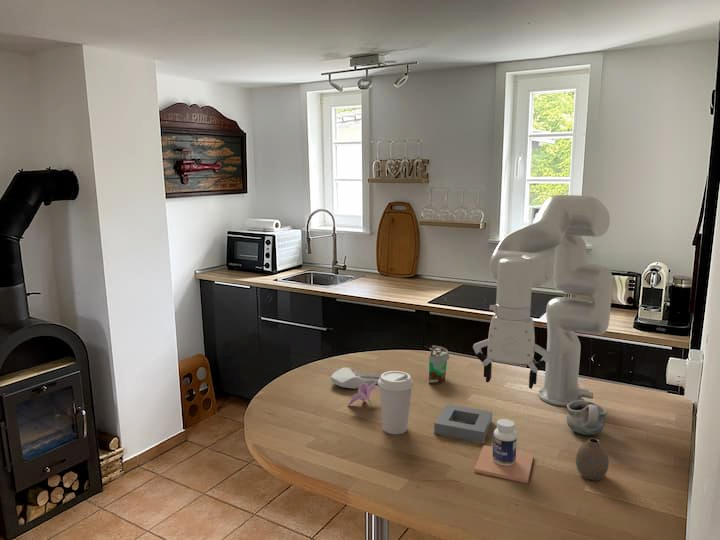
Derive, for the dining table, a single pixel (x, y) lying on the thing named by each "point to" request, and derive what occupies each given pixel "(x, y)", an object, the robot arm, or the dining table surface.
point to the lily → (364, 392)
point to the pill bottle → (504, 443)
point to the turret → (353, 378)
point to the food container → (437, 364)
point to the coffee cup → (395, 400)
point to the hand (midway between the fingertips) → (509, 383)
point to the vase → (592, 460)
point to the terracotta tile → (513, 472)
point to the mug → (585, 417)
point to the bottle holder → (462, 430)
